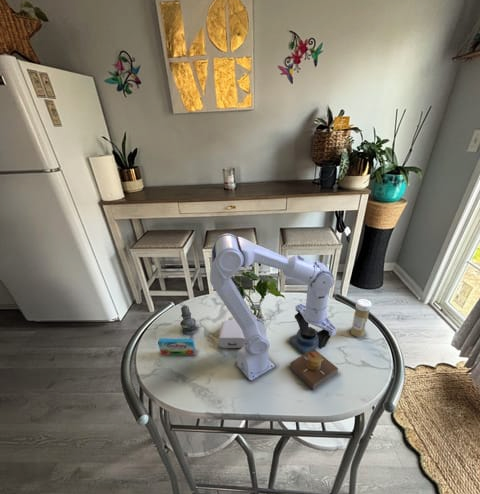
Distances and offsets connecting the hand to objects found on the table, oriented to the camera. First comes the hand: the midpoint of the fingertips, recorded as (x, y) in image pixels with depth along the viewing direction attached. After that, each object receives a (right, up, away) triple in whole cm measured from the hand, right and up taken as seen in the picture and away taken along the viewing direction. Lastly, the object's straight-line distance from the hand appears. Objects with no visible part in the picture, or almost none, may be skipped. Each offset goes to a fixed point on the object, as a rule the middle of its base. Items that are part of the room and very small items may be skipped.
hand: (312, 339), depth 84 cm
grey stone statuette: (-42, 0, +20) cm, 46 cm away
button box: (+1, -3, +11) cm, 11 cm away
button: (+1, 0, +9) cm, 9 cm away
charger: (-24, -1, +17) cm, 29 cm away
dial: (0, -8, -1) cm, 8 cm away
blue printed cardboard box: (-44, -7, +10) cm, 45 cm away
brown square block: (0, -10, 0) cm, 10 cm away
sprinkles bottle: (+19, 0, +13) cm, 23 cm away
